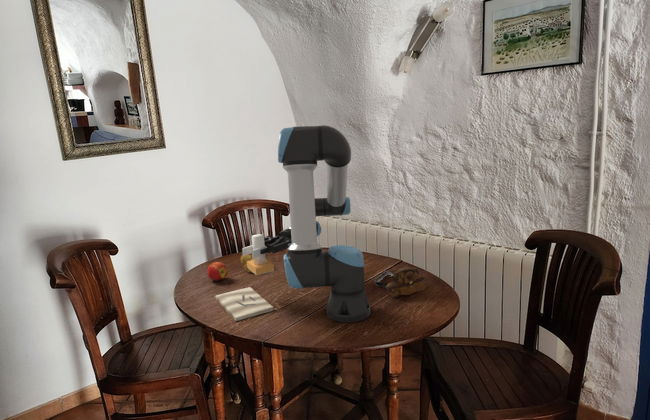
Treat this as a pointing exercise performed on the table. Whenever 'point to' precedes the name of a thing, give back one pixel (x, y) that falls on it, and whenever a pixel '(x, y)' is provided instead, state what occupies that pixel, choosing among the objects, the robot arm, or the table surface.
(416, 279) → the wooden carving
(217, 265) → the apple
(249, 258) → the bread roll
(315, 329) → the table surface
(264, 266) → the block
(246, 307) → the plywood board
